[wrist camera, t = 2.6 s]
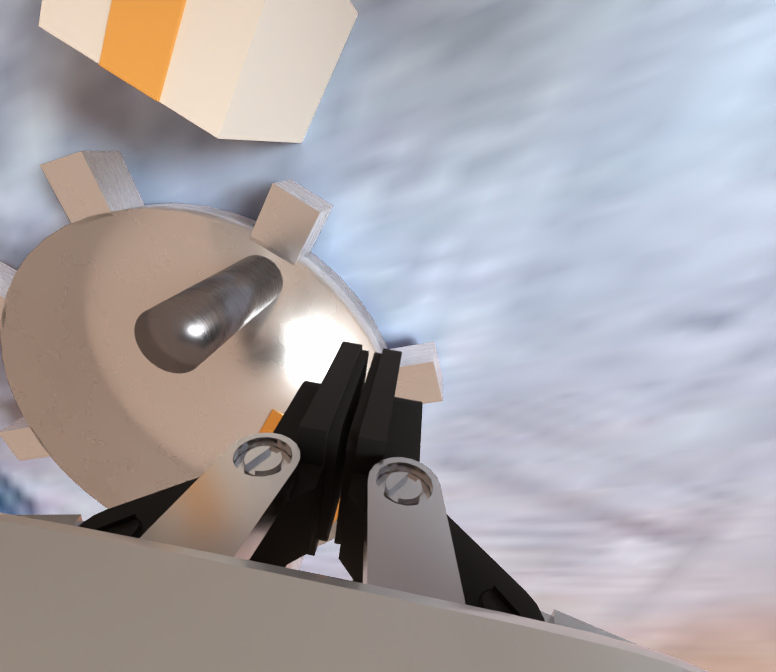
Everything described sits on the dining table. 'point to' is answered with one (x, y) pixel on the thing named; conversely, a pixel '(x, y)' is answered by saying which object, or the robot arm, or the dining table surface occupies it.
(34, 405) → the sprocket
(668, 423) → the dining table surface
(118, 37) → the link block
